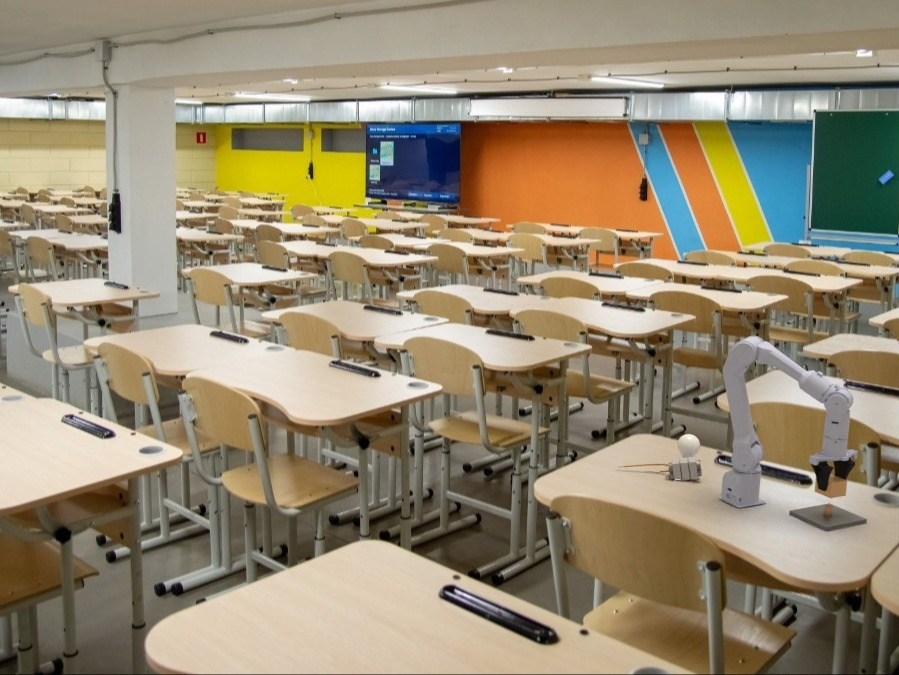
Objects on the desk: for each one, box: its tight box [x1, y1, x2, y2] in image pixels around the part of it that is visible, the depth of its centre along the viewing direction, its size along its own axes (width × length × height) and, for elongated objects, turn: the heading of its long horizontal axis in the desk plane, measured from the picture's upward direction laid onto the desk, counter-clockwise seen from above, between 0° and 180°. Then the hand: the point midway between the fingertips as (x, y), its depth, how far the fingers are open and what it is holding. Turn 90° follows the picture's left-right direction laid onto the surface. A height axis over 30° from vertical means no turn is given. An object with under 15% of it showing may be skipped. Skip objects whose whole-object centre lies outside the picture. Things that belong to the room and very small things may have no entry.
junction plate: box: [788, 503, 868, 532], centre depth 236 cm, size 14×12×4 cm
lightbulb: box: [677, 433, 701, 461], centre depth 271 cm, size 6×6×11 cm
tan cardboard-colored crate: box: [814, 473, 848, 499], centre depth 235 cm, size 5×5×4 cm
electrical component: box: [619, 456, 703, 481], centre depth 266 cm, size 24×6×5 cm, turn 76°
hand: (830, 488), depth 235 cm, fingers closed on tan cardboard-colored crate, 5 cm apart
